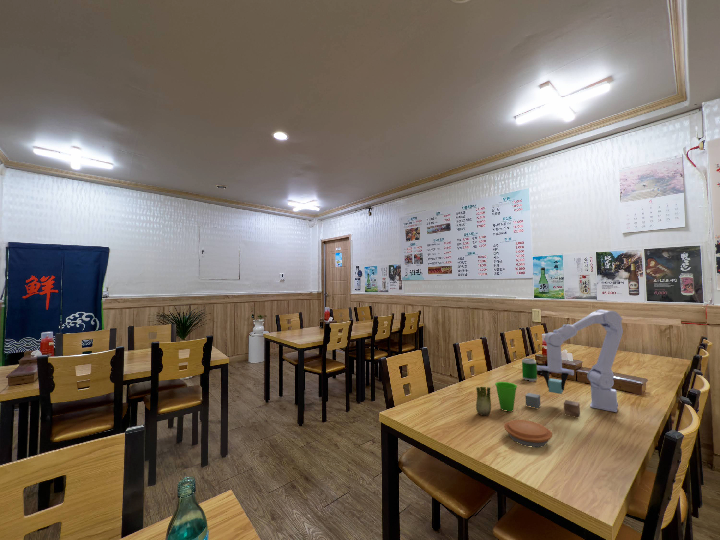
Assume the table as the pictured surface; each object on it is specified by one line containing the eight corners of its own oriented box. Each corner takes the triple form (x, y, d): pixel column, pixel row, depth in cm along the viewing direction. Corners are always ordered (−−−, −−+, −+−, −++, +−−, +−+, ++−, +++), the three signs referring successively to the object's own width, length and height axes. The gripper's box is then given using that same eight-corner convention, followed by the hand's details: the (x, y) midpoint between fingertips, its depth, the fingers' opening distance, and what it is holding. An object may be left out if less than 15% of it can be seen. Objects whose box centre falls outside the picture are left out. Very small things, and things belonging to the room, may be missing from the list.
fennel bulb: (491, 414, 136) (490, 386, 136) (490, 418, 132) (489, 389, 132) (477, 411, 139) (476, 384, 139) (475, 415, 134) (474, 387, 135)
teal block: (563, 391, 145) (562, 380, 146) (561, 394, 142) (560, 382, 142) (550, 389, 149) (550, 378, 149) (548, 391, 145) (548, 380, 145)
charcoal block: (540, 406, 144) (540, 395, 144) (538, 409, 140) (537, 397, 141) (528, 403, 147) (528, 392, 148) (525, 406, 144) (525, 395, 144)
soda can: (539, 381, 180) (538, 360, 180) (526, 382, 180) (525, 360, 181) (532, 378, 187) (532, 357, 188) (520, 378, 187) (519, 357, 188)
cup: (495, 411, 138) (494, 386, 139) (496, 404, 146) (495, 380, 147) (517, 415, 134) (516, 389, 135) (518, 407, 142) (517, 383, 143)
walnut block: (579, 414, 134) (579, 402, 135) (578, 418, 131) (577, 405, 131) (566, 411, 138) (565, 399, 138) (564, 415, 134) (563, 403, 134)
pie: (510, 426, 124) (509, 413, 124) (556, 438, 114) (555, 424, 114) (499, 441, 112) (498, 427, 112) (549, 456, 102) (548, 440, 102)
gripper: (573, 359, 144) (575, 389, 144) (538, 355, 154) (539, 383, 153) (572, 362, 139) (574, 393, 138) (535, 357, 148) (536, 387, 147)
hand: (555, 388), depth 145 cm, fingers closed on teal block, 5 cm apart
